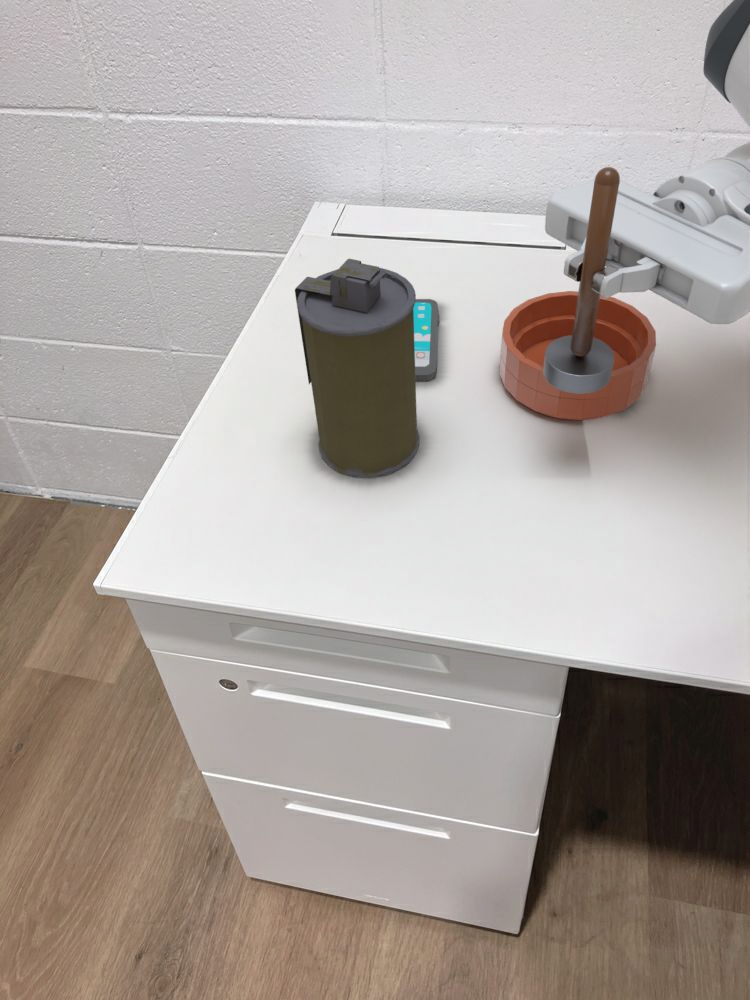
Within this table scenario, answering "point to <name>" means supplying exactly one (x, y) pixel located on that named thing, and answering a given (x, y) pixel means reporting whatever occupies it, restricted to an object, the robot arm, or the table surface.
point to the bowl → (555, 319)
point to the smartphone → (425, 338)
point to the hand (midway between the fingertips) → (584, 278)
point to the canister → (361, 366)
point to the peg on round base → (587, 304)
